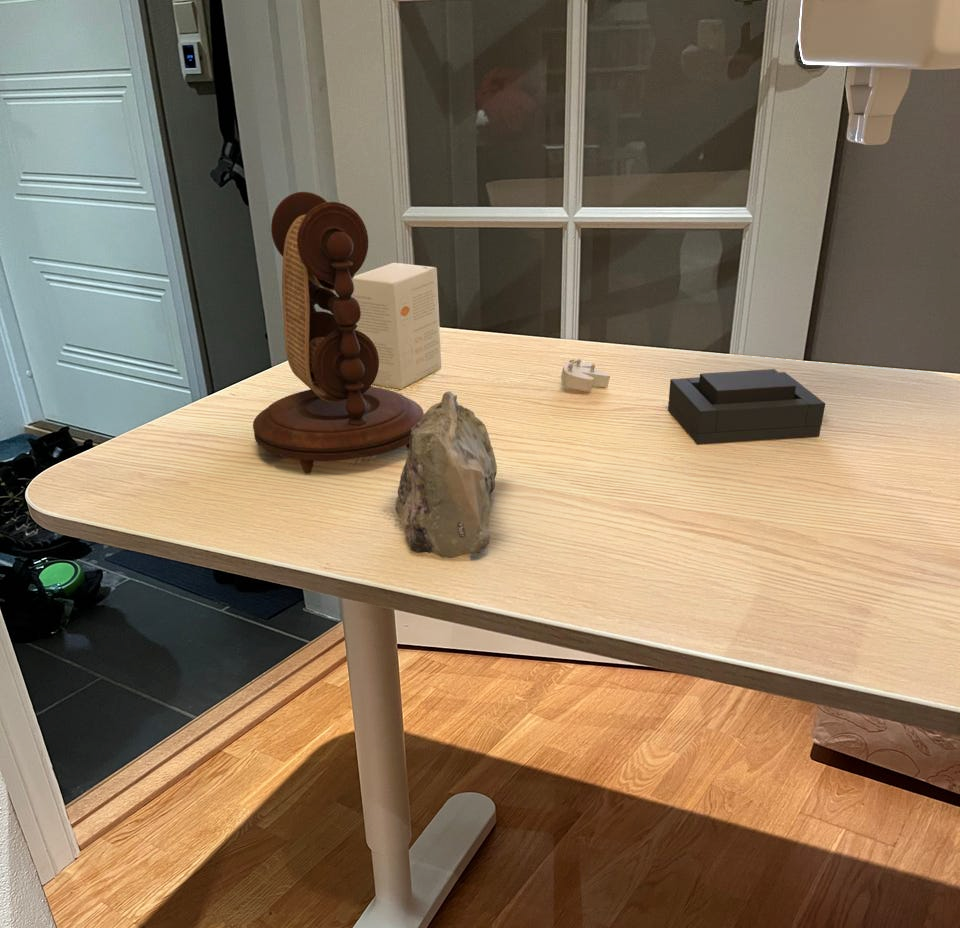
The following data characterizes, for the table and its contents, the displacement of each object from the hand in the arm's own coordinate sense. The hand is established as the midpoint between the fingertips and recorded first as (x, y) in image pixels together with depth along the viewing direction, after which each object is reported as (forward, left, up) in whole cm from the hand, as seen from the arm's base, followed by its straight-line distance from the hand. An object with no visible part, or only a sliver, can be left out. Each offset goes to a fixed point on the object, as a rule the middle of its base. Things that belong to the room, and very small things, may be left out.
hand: (866, 143), depth 66 cm
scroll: (+39, -9, -23) cm, 46 cm away
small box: (+33, -28, -23) cm, 49 cm away
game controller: (+18, -22, -23) cm, 37 cm away
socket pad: (+3, -8, -23) cm, 25 cm away
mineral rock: (+30, +8, -23) cm, 39 cm away
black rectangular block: (+3, -8, -22) cm, 24 cm away
